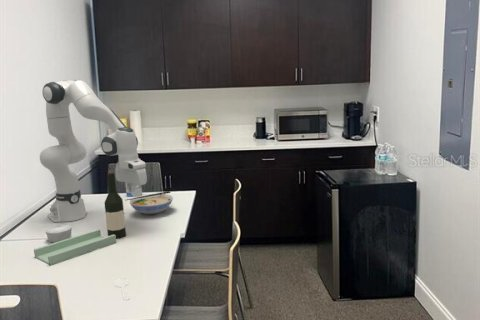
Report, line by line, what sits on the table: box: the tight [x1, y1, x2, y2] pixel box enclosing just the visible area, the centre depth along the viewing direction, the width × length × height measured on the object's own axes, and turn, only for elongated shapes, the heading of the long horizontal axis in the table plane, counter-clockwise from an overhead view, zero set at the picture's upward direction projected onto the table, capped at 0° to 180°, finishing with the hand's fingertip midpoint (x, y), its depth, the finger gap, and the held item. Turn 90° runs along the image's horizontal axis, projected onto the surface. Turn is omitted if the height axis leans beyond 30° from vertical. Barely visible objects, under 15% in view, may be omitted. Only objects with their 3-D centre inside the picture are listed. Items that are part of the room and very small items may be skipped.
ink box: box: [124, 182, 143, 198], centre depth 286 cm, size 9×5×12 cm, turn 81°
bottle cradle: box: [33, 228, 117, 266], centre depth 202 cm, size 14×30×4 cm, turn 137°
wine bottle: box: [104, 171, 127, 240], centre depth 214 cm, size 8×8×30 cm
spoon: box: [113, 277, 131, 301], centre depth 163 cm, size 5×18×1 cm, turn 22°
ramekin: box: [45, 224, 72, 244], centre depth 216 cm, size 11×11×5 cm
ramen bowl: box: [126, 190, 174, 216], centre depth 249 cm, size 25×23×8 cm
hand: (132, 192), depth 220 cm, fingers closed
